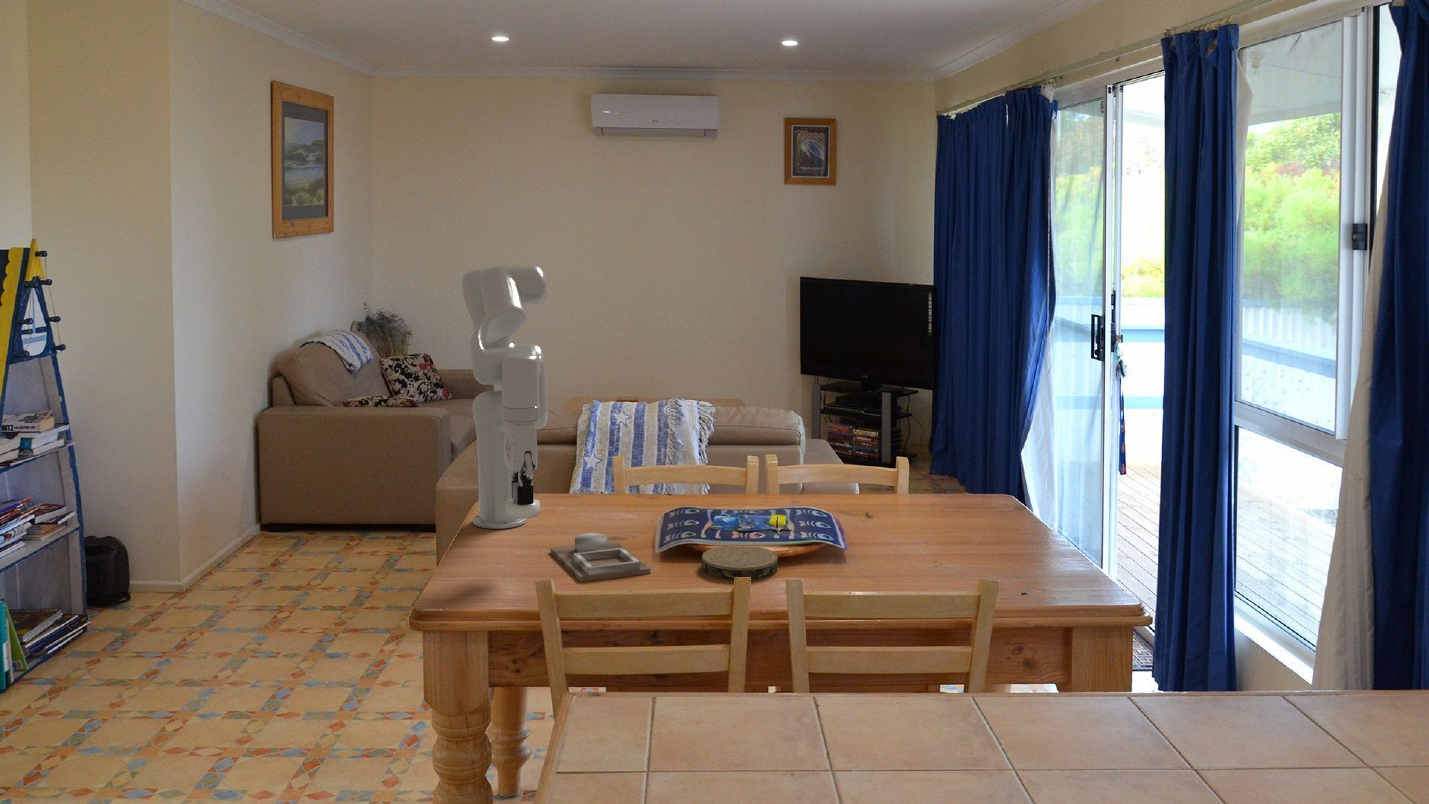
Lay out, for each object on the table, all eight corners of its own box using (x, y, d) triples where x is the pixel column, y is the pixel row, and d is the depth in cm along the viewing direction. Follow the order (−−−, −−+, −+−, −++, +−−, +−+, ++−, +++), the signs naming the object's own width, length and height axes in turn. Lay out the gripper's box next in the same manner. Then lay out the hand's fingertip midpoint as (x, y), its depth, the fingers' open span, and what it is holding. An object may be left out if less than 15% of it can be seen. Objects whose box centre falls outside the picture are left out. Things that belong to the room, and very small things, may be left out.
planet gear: (502, 511, 250) (501, 481, 249) (534, 508, 253) (534, 478, 252) (510, 520, 244) (509, 489, 243) (544, 516, 247) (543, 486, 245)
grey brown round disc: (754, 586, 242) (754, 572, 241) (687, 573, 250) (687, 559, 249) (791, 566, 255) (791, 552, 254) (726, 554, 263) (726, 541, 263)
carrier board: (550, 552, 263) (550, 534, 262) (615, 544, 268) (615, 527, 268) (580, 581, 243) (580, 562, 242) (650, 573, 249) (650, 554, 248)
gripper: (493, 408, 251) (495, 493, 254) (513, 423, 236) (514, 513, 239) (528, 406, 254) (529, 490, 257) (550, 420, 239) (551, 509, 242)
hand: (522, 500), depth 248 cm, fingers closed on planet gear, 4 cm apart
